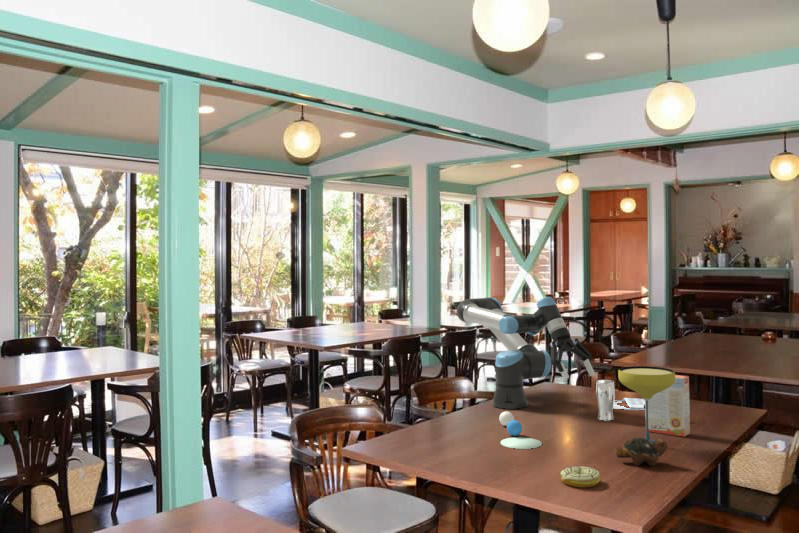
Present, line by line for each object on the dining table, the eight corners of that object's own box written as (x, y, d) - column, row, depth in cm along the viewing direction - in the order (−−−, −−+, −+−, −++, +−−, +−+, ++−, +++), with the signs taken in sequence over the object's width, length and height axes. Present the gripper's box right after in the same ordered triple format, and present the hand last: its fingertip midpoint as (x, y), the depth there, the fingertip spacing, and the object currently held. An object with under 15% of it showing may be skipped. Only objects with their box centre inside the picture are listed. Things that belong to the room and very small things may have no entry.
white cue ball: (496, 425, 249) (496, 411, 249) (507, 423, 252) (506, 409, 252) (506, 428, 245) (505, 413, 244) (517, 426, 247) (516, 411, 247)
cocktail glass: (671, 454, 208) (670, 376, 208) (613, 447, 218) (612, 372, 217) (680, 441, 223) (679, 368, 223) (626, 434, 233) (625, 364, 233)
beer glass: (613, 417, 258) (612, 379, 258) (617, 421, 251) (616, 382, 251) (595, 417, 259) (594, 379, 259) (598, 421, 252) (597, 382, 252)
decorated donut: (562, 475, 191) (562, 462, 191) (600, 478, 188) (600, 465, 188) (559, 487, 181) (558, 473, 181) (599, 491, 178) (599, 477, 178)
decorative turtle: (672, 469, 194) (670, 442, 194) (619, 470, 197) (617, 444, 196) (664, 457, 204) (662, 432, 203) (614, 459, 206) (612, 434, 206)
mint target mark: (492, 442, 226) (492, 441, 226) (522, 435, 234) (522, 435, 234) (519, 451, 215) (519, 451, 215) (550, 444, 222) (550, 444, 222)
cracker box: (690, 434, 232) (689, 375, 232) (684, 437, 227) (683, 378, 227) (651, 428, 241) (650, 371, 241) (645, 431, 237) (644, 373, 237)
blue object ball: (503, 435, 235) (503, 420, 235) (515, 432, 238) (514, 417, 238) (514, 438, 231) (513, 423, 231) (525, 436, 233) (525, 420, 233)
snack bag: (657, 412, 268) (656, 407, 268) (605, 411, 272) (605, 406, 272) (648, 402, 286) (648, 397, 286) (601, 401, 290) (600, 396, 290)
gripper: (539, 329, 266) (560, 376, 256) (586, 324, 277) (608, 369, 267) (530, 338, 272) (550, 384, 261) (576, 332, 283) (597, 376, 273)
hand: (579, 376), depth 264 cm, fingers open, 13 cm apart
